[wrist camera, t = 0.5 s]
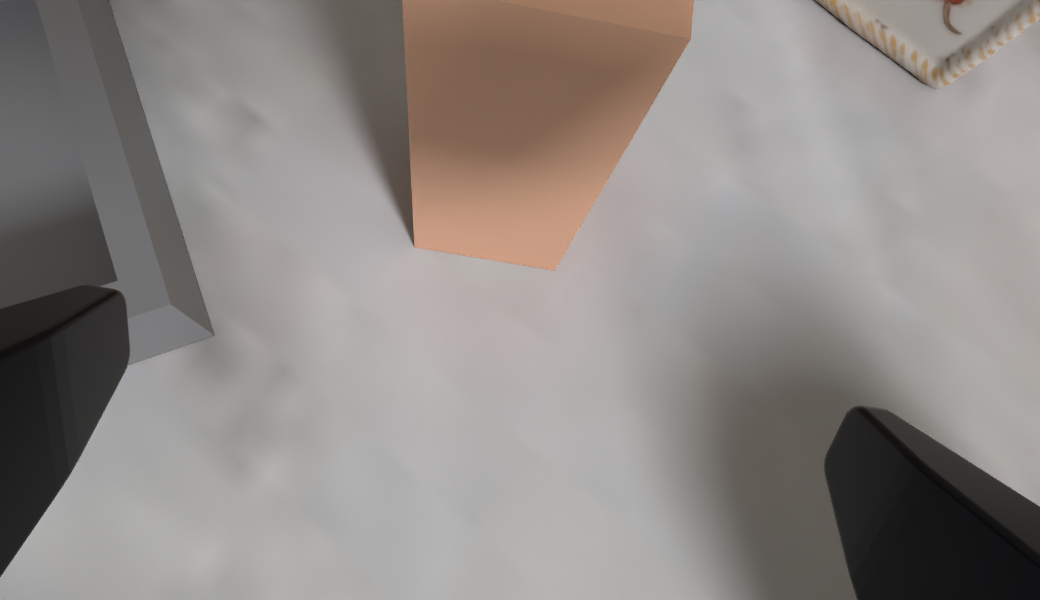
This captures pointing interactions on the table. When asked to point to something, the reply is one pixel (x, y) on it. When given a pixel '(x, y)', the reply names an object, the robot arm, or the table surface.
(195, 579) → the table surface
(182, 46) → the table surface
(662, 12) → the terracotta block
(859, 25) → the decorative jar
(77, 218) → the box
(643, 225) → the table surface
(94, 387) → the robot arm
